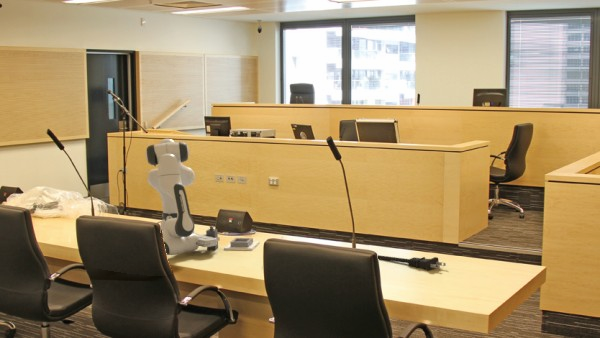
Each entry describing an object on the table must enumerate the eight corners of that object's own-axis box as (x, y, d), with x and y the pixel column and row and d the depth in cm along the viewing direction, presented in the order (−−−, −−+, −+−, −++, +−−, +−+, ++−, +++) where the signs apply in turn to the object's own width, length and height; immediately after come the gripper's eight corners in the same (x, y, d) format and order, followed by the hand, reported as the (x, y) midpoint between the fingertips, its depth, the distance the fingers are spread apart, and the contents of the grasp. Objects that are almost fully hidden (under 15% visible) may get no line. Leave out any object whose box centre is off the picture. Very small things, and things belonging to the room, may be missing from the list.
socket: (232, 243, 392) (232, 236, 392) (259, 243, 389) (259, 237, 389) (223, 249, 378) (223, 243, 377) (252, 250, 375) (251, 243, 374)
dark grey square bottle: (209, 247, 383) (208, 225, 382) (218, 247, 382) (217, 225, 381) (207, 249, 379) (206, 227, 377) (215, 250, 378) (214, 227, 376)
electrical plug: (437, 273, 324) (436, 262, 323) (362, 262, 352) (362, 252, 352) (447, 268, 330) (447, 257, 330) (373, 259, 358) (373, 248, 358)
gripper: (203, 239, 363) (225, 234, 372) (179, 233, 378) (201, 228, 387) (203, 251, 364) (225, 246, 373) (180, 245, 379) (202, 240, 388)
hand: (213, 237), depth 380 cm, fingers open, 8 cm apart
